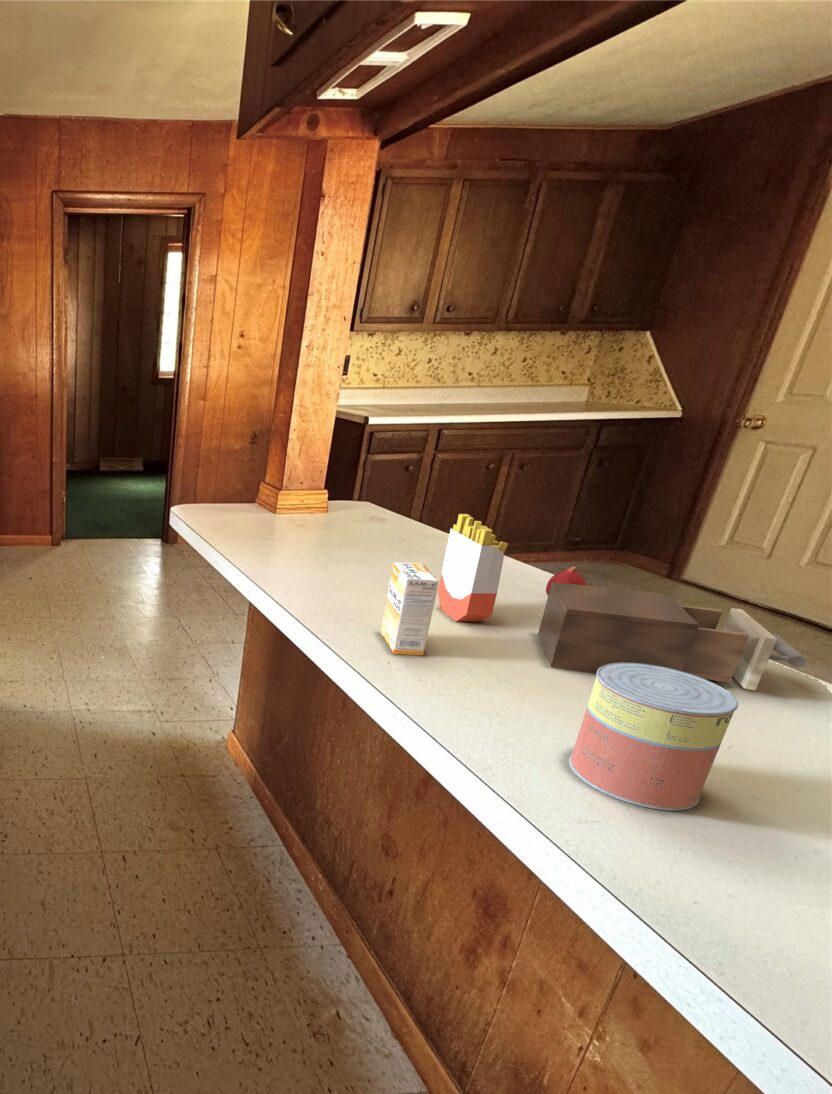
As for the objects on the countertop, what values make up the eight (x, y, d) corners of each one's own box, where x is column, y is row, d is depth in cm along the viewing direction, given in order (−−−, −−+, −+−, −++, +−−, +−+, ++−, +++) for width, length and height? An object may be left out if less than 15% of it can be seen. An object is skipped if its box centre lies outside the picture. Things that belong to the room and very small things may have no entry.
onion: (534, 605, 123) (545, 564, 120) (553, 599, 125) (564, 559, 122) (569, 615, 118) (581, 573, 115) (588, 609, 120) (600, 568, 117)
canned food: (724, 818, 69) (767, 719, 65) (597, 802, 72) (629, 706, 68) (661, 756, 79) (695, 667, 75) (552, 744, 82) (578, 658, 78)
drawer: (762, 661, 98) (782, 613, 95) (799, 697, 89) (823, 644, 86) (610, 641, 106) (624, 596, 103) (629, 671, 97) (646, 622, 94)
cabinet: (650, 650, 104) (669, 594, 101) (676, 686, 94) (699, 624, 91) (537, 635, 111) (551, 581, 107) (550, 666, 101) (567, 608, 97)
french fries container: (460, 604, 124) (481, 511, 118) (491, 627, 114) (515, 527, 108) (434, 604, 125) (453, 511, 118) (462, 627, 115) (485, 527, 108)
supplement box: (378, 633, 114) (391, 561, 109) (409, 635, 113) (423, 562, 108) (391, 654, 106) (405, 578, 101) (424, 656, 105) (440, 579, 100)
